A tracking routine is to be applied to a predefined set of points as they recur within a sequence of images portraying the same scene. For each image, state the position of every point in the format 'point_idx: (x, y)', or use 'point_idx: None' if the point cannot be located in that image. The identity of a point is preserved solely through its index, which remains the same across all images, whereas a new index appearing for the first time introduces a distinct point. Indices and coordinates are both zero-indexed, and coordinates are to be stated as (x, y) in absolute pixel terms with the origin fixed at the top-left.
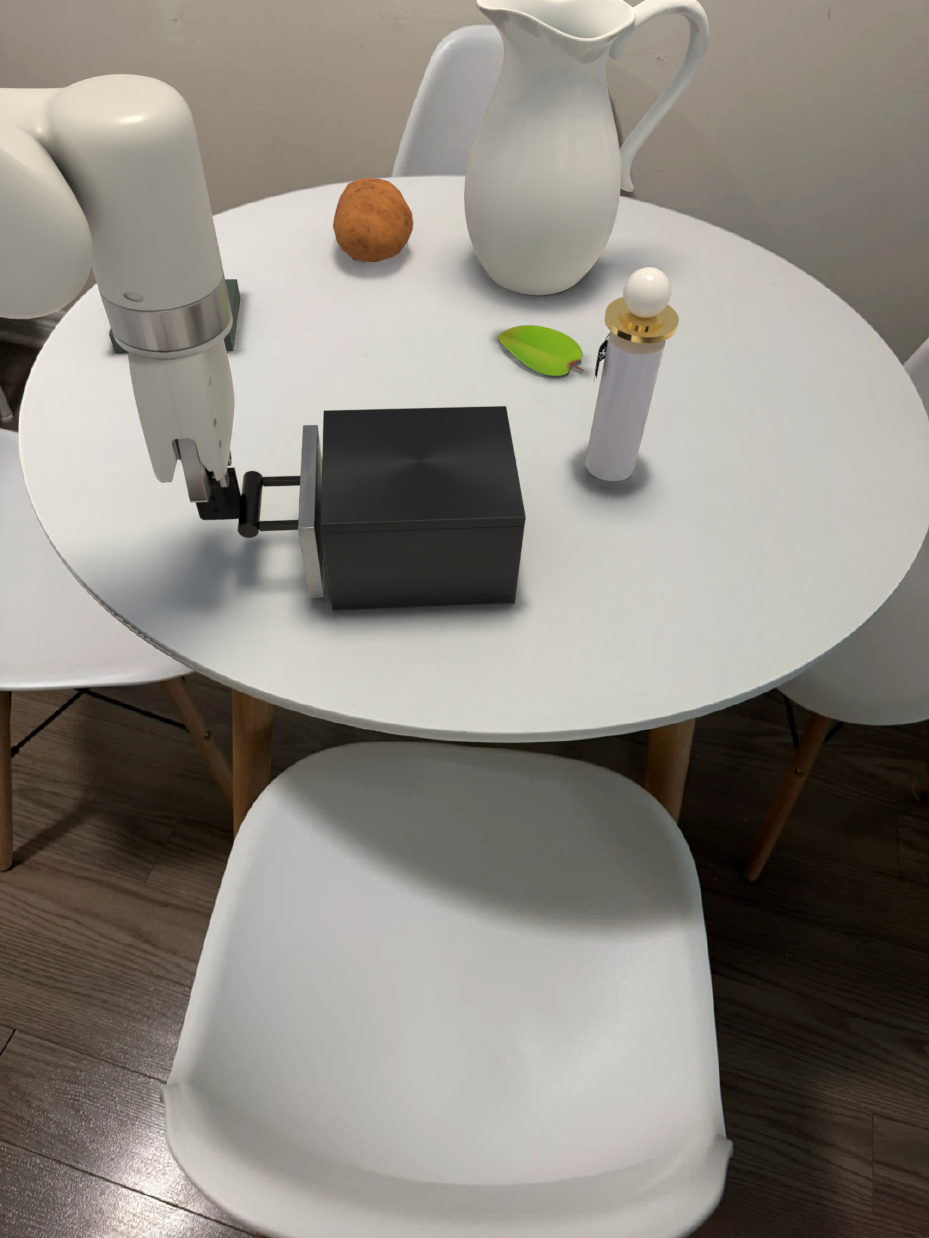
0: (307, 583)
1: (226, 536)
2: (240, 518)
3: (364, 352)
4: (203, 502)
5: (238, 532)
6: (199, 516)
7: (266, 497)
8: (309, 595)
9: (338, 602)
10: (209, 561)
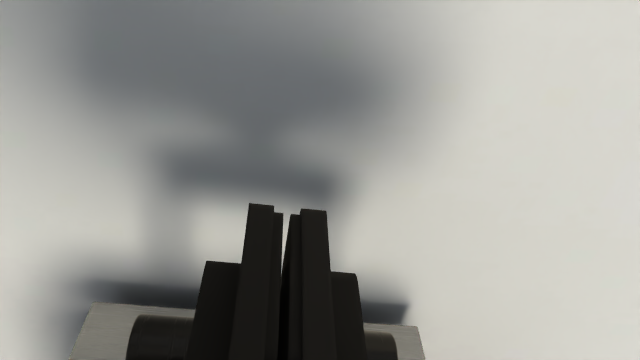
0: (74, 345)
1: (361, 129)
2: (166, 357)
3: None
4: (195, 318)
5: (134, 323)
6: (248, 209)
7: (476, 224)
8: (91, 308)
9: None
10: (271, 82)
